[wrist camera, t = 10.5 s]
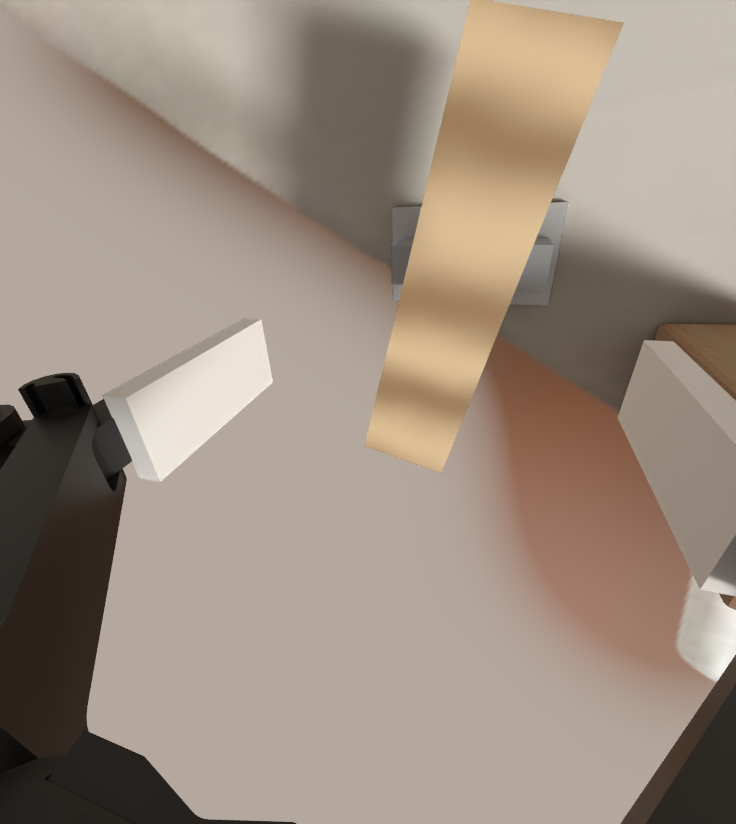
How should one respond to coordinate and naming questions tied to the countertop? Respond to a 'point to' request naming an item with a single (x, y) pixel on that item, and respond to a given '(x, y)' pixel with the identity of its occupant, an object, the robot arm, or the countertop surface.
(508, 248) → the beam
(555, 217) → the bracket
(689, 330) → the wooden block
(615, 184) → the countertop surface
